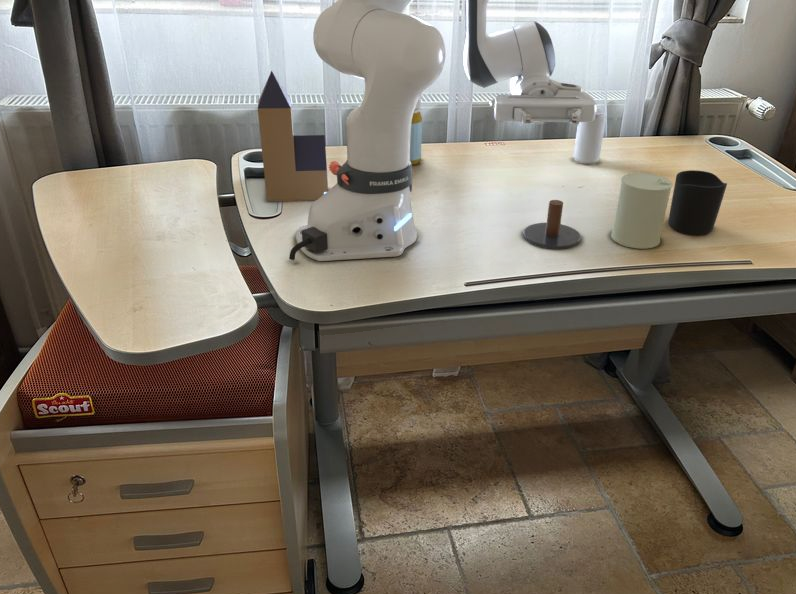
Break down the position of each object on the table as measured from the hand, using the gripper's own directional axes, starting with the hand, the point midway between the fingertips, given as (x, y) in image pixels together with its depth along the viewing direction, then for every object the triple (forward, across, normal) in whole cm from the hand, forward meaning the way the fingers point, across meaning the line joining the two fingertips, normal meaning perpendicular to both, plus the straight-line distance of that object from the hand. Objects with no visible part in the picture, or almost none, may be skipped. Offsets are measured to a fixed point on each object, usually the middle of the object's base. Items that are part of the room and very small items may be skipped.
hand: (551, 120), depth 137 cm
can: (+13, +16, +19) cm, 28 cm away
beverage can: (-32, +17, +19) cm, 41 cm away
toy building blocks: (-14, -51, +19) cm, 56 cm away
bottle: (-30, -27, +19) cm, 45 cm away
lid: (+12, 0, +19) cm, 22 cm away
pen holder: (+7, +29, +19) cm, 35 cm away
